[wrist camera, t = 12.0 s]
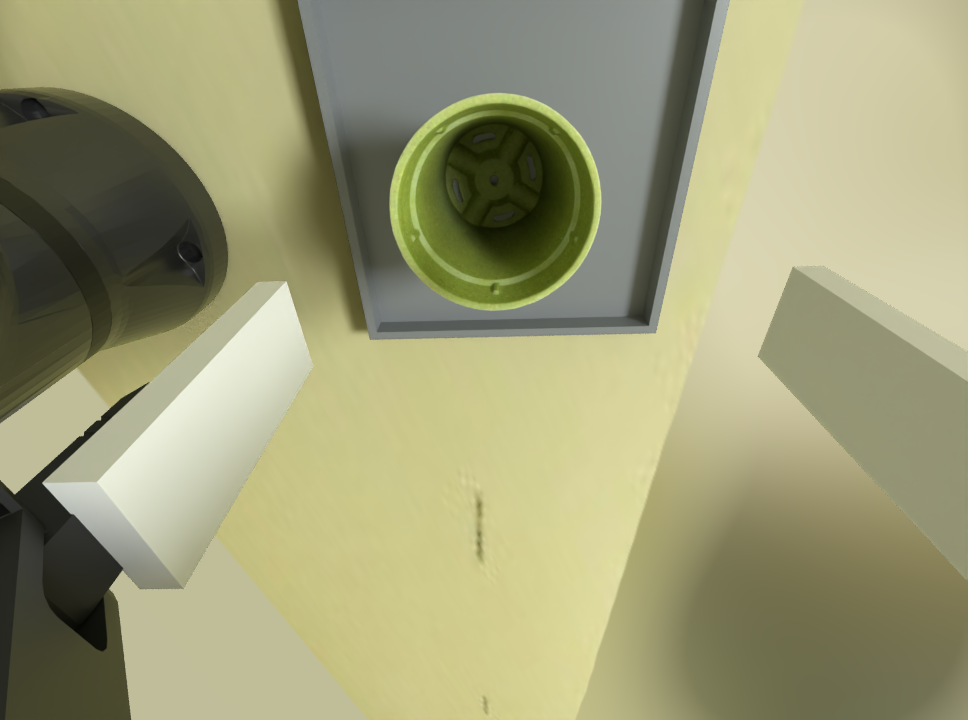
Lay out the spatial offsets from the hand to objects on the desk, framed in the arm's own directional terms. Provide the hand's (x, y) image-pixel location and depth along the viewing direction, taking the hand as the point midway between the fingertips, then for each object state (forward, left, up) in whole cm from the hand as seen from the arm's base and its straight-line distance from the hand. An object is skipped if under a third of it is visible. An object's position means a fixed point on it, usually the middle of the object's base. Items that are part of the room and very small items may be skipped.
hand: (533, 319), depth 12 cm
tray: (0, 0, -18) cm, 18 cm away
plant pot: (-1, -1, -18) cm, 18 cm away
